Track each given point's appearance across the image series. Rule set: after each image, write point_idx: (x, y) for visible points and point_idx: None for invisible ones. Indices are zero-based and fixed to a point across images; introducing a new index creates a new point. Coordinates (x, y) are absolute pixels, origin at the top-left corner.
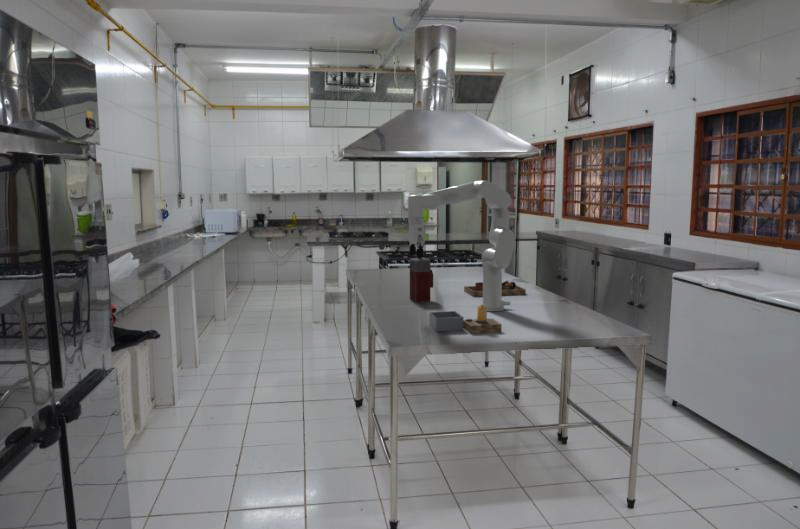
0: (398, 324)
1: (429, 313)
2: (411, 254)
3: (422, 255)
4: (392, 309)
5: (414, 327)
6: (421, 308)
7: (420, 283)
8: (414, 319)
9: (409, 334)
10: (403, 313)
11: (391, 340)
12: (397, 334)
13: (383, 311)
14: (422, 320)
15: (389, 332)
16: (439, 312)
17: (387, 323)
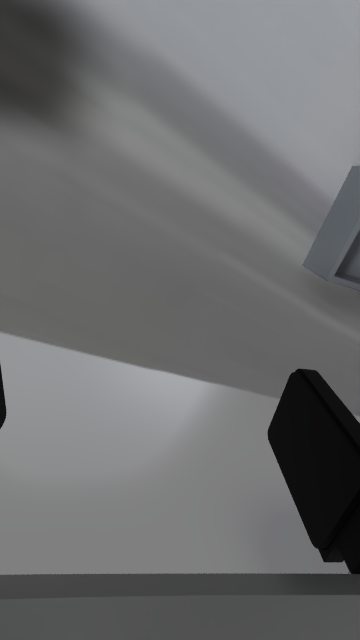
0: (234, 341)
1: (327, 280)
2: (2, 404)
3: (320, 389)
4: (10, 264)
5: (293, 318)
6: (28, 129)
7: None
8: (206, 269)
9: (342, 361)
10: (98, 258)
11: (351, 411)
12: None
13: (36, 308)
14: (234, 251)
15: None
16: (351, 242)
17: (206, 362)
